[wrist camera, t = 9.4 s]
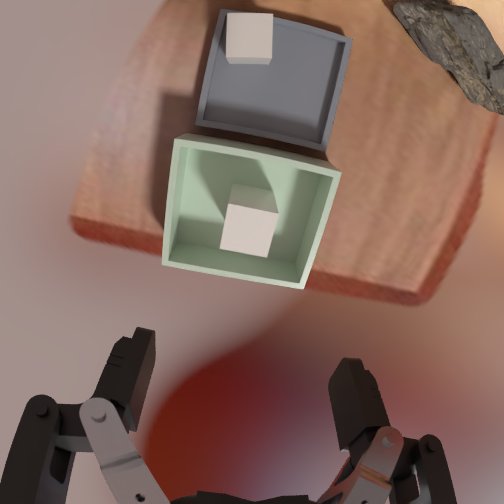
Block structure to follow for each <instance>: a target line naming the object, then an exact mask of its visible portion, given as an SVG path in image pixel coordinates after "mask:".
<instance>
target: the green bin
mask: <svg viewBox="0 0 504 504" xmlns="http://www.w3.org/2000/svg"><path fill="white" fill-rule="evenodd" d="M341 173H342V172H341V171H340V170H338V169H337V168H336V167H335V166H334V165H332V164H331V163H330V162H329V161H325V160H321V159H317V158H313V157H309V156H305V155H301V154H297V153H293V152H288V151H284V150H280V149H275V148H270V147H266V146H261V145H256V144H251V143H246V142H240V141H235V140H229V139H223V138H218V137H211V136H205V135H198V134H191V133H184V134H182V135H180V136H178V137H177V138H175V139H174V145H173V152H172V160H171V168H170V176H169V184H168V193H167V203H166V214H165V225H164V238H163V253H162V265H165V266H171V267H176V268H181V269H187V270H192V271H198V272H204V273H209V274H214V275H220V276H226V277H231V278H237V279H243V280H249V281H255V282H261V283H267V284H273V285H279V286H286V287H292V288H298V289H304V286H305V284H306V281H307V278H308V275H309V272H310V270H311V267H312V264H313V261H314V258H315V255H316V252H317V249H318V246H319V243H320V240H321V237H322V234H323V231H324V228H325V225H326V222H327V219H328V216H329V213H330V210H331V206H332V203H333V200H334V197H335V193H336V190H337V187H338V184H339V180H340V177H341ZM233 183H236V184H241V185H246V186H251V187H256V188H260V189H265V190H270V191H274V195H275V200H276V204H277V208H278V212H279V215H278V219H277V223H276V226H275V230H274V234H273V237H272V241H271V244H270V248H269V252H268V255H267V258H266V257H261V256H256V255H250V254H245V253H240V252H235V251H229V250H224V249H220V243H221V238H222V233H223V228H224V223H225V218H226V213H227V208H228V203H229V198H230V193H231V188H232V184H233Z"/></svg>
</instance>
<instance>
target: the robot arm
mask: <svg viewBox="0 0 504 504" xmlns="http://www.w3.org/2000/svg"><path fill="white" fill-rule="evenodd" d="M155 349H156V348H155V331H154V330H149V329H145V328H141V327H137V328H136V330H135V332H134V335H133V337H132V338H128V337H124V336H123V337H122V338H121V339H120V340H119V341H117V342H116V343H115V344H114V347H113V349H112V351H111V353H110V356H109V358H108V360H107V364H106V365H105V367H104V370H103V372H102V374H101V377H100V379H99V382H98V384H97V387H96V390H95V392H94V394H93V396H92V397H91V398H90V399H89V400H87V401H85V402H84V403H81V404H57V403H56V402H55V400H54V399H52V398H51V397H49V396H47V395H36V396H34V397H32V398H31V399H30V400H29V401H28V403H27V405H26V407H25V410H24V412H23V415H22V417H21V420H20V423H19V425H18V428H17V431H16V434H15V436H14V439H13V442H12V445H11V448H10V451H9V454H8V458H7V461H6V464H5V468H4V471H3V475H2V479H1V483H0V504H65V502H66V496H67V491H68V486H69V481H70V476H71V471H72V467H73V462H74V458H75V454H76V452H94V454H95V456H96V458H97V460H98V462H99V465H100V468H101V471H102V474H103V476H104V478H105V480H106V482H107V484H108V485H109V488H110V490H111V492H112V493H113V495H114V497H115V499H116V501H117V502H118V504H385V502H386V500H387V498H388V496H389V501H390V504H457V501H456V497H455V492H454V488H453V484H452V480H451V476H450V472H449V468H448V465H447V461H446V457H445V454H444V450H443V447H442V444H441V442H440V440H439V439H438V438H437V437H435V436H434V435H430V434H427V435H425V436H423V437H422V438H420V439H419V440H416V439H410V438H405V437H403V436H402V434H401V433H400V431H399V430H397V429H396V428H394V427H391V425H390V423H389V419H388V416H387V413H386V410H385V407H384V404H383V401H382V398H381V394H380V391H379V390H378V385H377V382H376V380H375V378H374V377H373V375H372V374H371V373H370V371H369V370H365V369H364V366H363V363H362V361H361V359H359V358H343V359H342V360H341V362H340V363H339V365H338V367H337V368H336V370H335V371H334V373H333V375H332V376H331V378H330V380H329V385H328V391H329V396H330V401H331V406H332V411H333V416H334V421H335V426H336V431H337V437H338V442H339V448H340V451H349V452H350V456H349V457H348V458H347V460H346V461H345V463H344V465H343V466H342V468H341V470H340V471H339V473H338V475H337V476H336V478H335V479H334V481H333V482H332V484H331V485H330V487H329V488H328V489H327V491H326V492H325V493H324V494H322V495H321V497H320V498H319V499H318V500H317V502H314V501H311V500H309V498H308V495H298V496H297V495H296V496H280V497H276V498H271V499H267V500H262V501H257V502H253V501H249V500H245V499H241V498H238V497H234V496H231V495H228V494H222V493H212V492H203V491H197V494H196V495H189V496H185V497H180V498H177V499H175V500H172V501H170V502H169V501H168V499H167V498H166V496H165V495H164V493H163V492H162V490H161V489H160V487H159V486H158V484H157V482H156V481H155V479H154V478H153V476H152V474H151V473H150V471H149V469H148V468H147V466H146V464H145V463H144V461H143V460H142V458H141V456H140V455H139V454H138V452H137V451H136V449H135V447H134V445H133V443H132V441H131V440H130V438H129V436H128V434H129V430H131V431H135V432H136V431H137V427H138V423H139V419H140V416H141V412H142V408H143V404H144V401H145V397H146V393H147V389H148V386H149V382H150V379H151V375H152V372H153V368H154V364H155V356H156V351H155ZM416 473H417V477H418V481H419V486H420V495H419V491H418V486H417V481H416V476H415V474H416Z"/></svg>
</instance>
